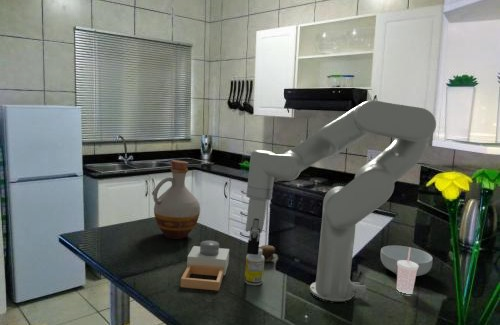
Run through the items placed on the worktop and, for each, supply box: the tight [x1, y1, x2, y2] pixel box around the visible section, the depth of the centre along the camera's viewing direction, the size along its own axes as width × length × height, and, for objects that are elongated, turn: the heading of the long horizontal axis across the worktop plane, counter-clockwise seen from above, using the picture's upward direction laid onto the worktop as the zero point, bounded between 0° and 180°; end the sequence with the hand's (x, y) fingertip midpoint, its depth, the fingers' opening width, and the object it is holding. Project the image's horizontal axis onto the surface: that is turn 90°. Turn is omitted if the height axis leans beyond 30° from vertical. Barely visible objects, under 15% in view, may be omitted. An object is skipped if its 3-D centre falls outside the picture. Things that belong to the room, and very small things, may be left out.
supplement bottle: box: [244, 248, 265, 286], centre depth 122 cm, size 6×6×10 cm
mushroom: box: [259, 244, 276, 263], centre depth 140 cm, size 8×8×6 cm
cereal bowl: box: [380, 245, 434, 277], centre depth 139 cm, size 17×17×7 cm
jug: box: [152, 159, 201, 240], centre depth 158 cm, size 20×18×30 cm
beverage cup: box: [396, 246, 419, 295], centre depth 123 cm, size 6×6×14 cm
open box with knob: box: [179, 240, 230, 292], centre depth 125 cm, size 12×21×8 cm, turn 177°
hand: (253, 248), depth 122 cm, fingers open, 9 cm apart
